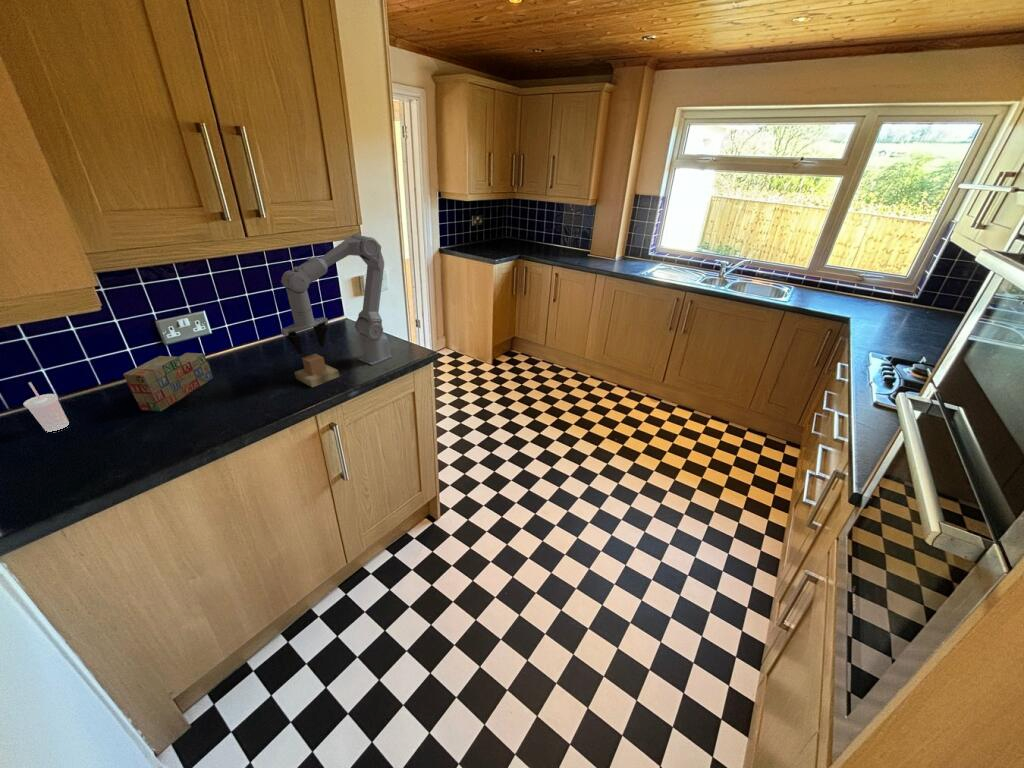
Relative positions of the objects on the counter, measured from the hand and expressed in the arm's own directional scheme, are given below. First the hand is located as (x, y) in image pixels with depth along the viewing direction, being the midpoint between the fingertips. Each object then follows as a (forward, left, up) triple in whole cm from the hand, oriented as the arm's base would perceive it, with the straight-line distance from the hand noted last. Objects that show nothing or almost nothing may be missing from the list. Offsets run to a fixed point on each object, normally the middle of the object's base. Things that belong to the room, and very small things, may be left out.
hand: (311, 349), depth 132 cm
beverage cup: (+59, -28, -11) cm, 66 cm away
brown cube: (0, 0, -8) cm, 8 cm away
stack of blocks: (+32, -24, -11) cm, 42 cm away
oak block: (0, 0, -11) cm, 11 cm away
